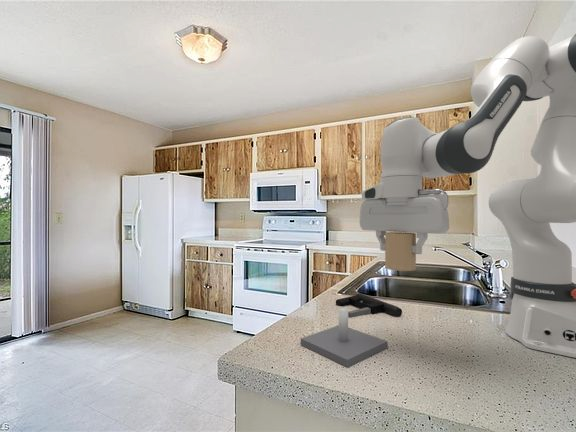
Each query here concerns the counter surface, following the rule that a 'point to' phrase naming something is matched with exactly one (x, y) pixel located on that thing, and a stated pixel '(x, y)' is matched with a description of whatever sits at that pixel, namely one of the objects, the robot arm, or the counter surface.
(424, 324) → the counter surface
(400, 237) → the paper roll
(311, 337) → the roll holder
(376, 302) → the black two-tone tubular device
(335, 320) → the counter surface
